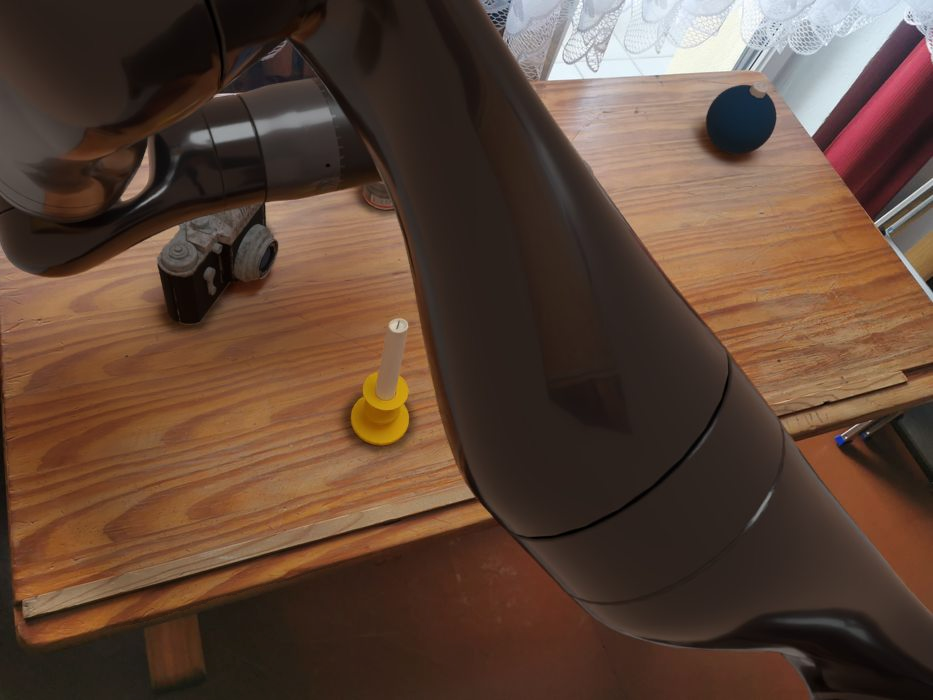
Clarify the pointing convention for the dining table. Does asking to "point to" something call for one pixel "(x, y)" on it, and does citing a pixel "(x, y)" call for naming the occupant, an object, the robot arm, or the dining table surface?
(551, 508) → the robot arm
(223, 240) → the camera
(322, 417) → the dining table surface
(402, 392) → the candle
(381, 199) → the pill bottle
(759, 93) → the christmas ornament
